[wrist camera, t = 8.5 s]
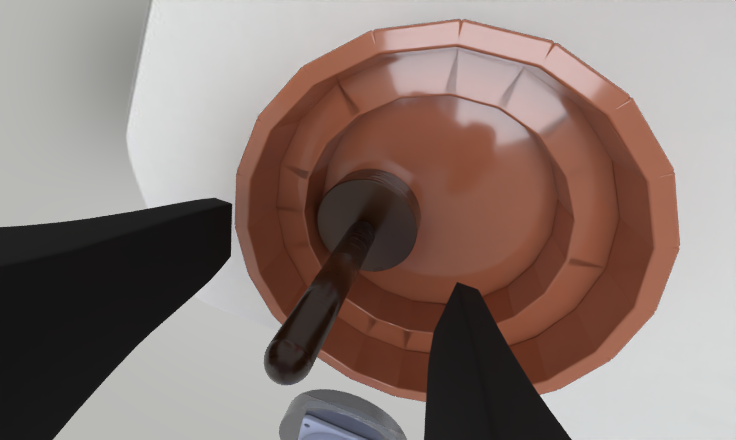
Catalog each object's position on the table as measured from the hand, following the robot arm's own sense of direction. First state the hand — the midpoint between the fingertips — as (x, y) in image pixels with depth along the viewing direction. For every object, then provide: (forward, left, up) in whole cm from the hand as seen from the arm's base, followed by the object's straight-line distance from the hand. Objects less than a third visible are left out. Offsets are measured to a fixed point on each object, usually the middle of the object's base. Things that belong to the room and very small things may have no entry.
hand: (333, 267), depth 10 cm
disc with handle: (-1, 0, -6) cm, 6 cm away
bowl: (0, -2, -7) cm, 7 cm away
